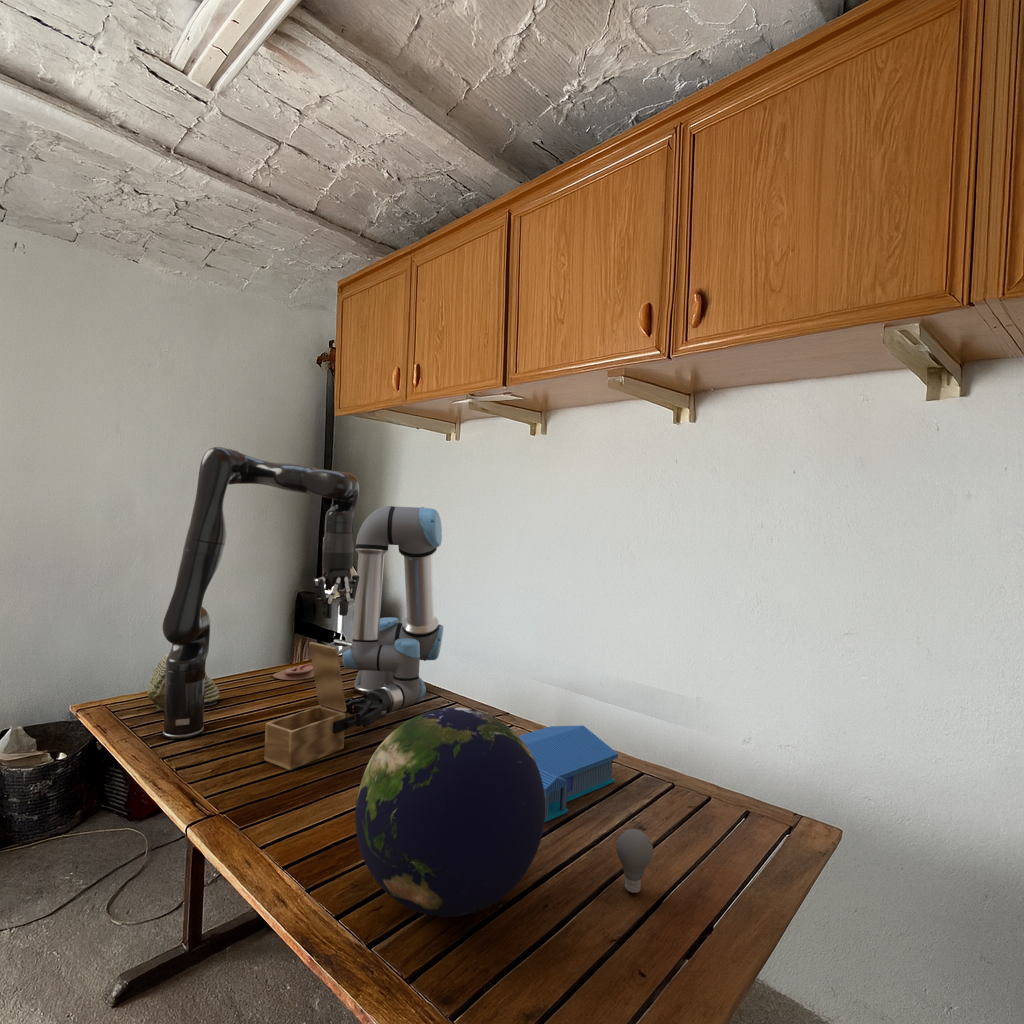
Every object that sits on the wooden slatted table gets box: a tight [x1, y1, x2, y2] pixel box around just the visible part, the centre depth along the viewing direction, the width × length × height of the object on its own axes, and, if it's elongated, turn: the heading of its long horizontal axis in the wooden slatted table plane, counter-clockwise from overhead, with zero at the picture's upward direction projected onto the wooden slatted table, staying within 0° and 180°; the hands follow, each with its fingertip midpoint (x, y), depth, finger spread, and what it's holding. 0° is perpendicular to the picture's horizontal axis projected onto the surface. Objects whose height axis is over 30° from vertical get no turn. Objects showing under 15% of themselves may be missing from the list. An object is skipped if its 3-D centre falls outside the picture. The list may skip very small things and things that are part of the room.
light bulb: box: [615, 828, 654, 894], centre depth 106 cm, size 6×6×10 cm
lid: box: [308, 638, 356, 712], centre depth 163 cm, size 17×9×8 cm
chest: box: [263, 705, 346, 771], centre depth 155 cm, size 16×9×9 cm, turn 148°
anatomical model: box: [272, 662, 314, 681], centre depth 220 cm, size 13×4×12 cm
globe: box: [354, 707, 546, 918], centre depth 101 cm, size 30×30×30 cm
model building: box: [518, 725, 619, 823], centre depth 140 cm, size 39×24×10 cm, turn 132°
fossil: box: [147, 654, 221, 712], centre depth 185 cm, size 9×18×15 cm, turn 132°
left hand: (335, 616), depth 161 cm, fingers open, 5 cm apart
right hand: (320, 723), depth 159 cm, fingers closed on chest, 9 cm apart
